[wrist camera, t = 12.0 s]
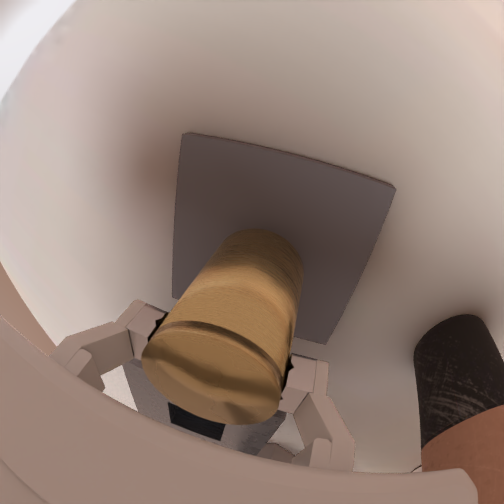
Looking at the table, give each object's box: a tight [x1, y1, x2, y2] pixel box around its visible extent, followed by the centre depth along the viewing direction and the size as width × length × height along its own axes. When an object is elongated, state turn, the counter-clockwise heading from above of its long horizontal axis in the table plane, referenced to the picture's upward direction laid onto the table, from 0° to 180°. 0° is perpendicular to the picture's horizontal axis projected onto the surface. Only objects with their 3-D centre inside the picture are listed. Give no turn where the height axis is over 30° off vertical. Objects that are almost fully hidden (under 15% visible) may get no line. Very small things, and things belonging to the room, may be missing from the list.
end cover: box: [141, 228, 304, 425], centre depth 12 cm, size 5×5×8 cm
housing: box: [122, 358, 286, 456], centre depth 25 cm, size 14×14×5 cm
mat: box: [172, 133, 396, 345], centre depth 17 cm, size 12×12×1 cm
